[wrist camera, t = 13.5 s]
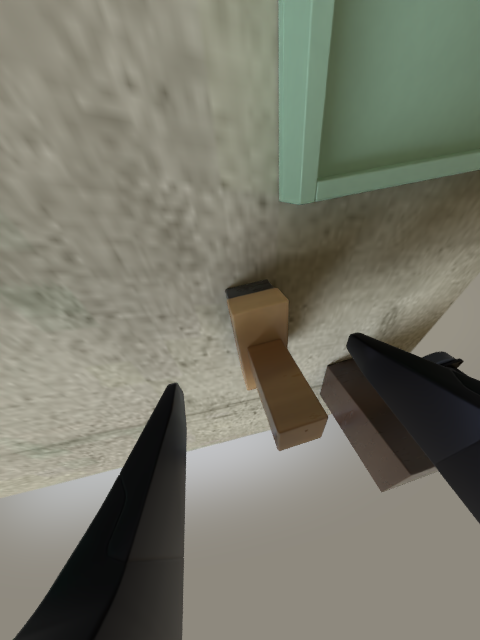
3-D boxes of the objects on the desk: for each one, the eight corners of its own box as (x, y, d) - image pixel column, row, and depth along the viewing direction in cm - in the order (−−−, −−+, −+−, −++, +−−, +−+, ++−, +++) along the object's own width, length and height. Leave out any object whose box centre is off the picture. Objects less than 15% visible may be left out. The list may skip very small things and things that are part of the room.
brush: (222, 287, 10) (261, 405, 4) (268, 276, 10) (357, 376, 5) (238, 360, 13) (270, 470, 8) (272, 350, 14) (323, 452, 8)
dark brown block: (376, 351, 17) (485, 448, 11) (361, 381, 20) (439, 470, 14) (326, 365, 17) (411, 475, 10) (319, 394, 20) (381, 492, 13)
